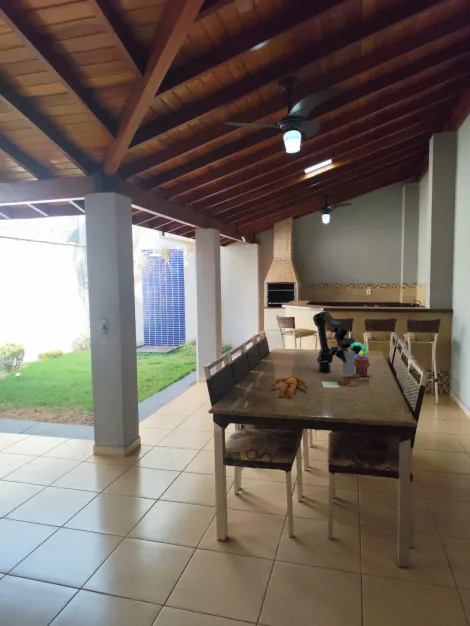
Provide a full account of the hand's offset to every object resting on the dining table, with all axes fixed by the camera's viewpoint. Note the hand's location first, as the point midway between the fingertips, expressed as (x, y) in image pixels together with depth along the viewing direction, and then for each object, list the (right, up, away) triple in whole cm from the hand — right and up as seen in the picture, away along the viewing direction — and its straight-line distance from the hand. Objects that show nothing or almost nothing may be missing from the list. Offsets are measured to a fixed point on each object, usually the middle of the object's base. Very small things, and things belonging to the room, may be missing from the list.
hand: (349, 362), depth 240 cm
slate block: (0, -7, +2) cm, 7 cm away
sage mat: (-11, -13, +2) cm, 17 cm away
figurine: (+25, -6, +77) cm, 82 cm away
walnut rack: (+4, -13, +4) cm, 14 cm away
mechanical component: (+14, -11, +23) cm, 29 cm away
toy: (-36, -15, -8) cm, 39 cm away
